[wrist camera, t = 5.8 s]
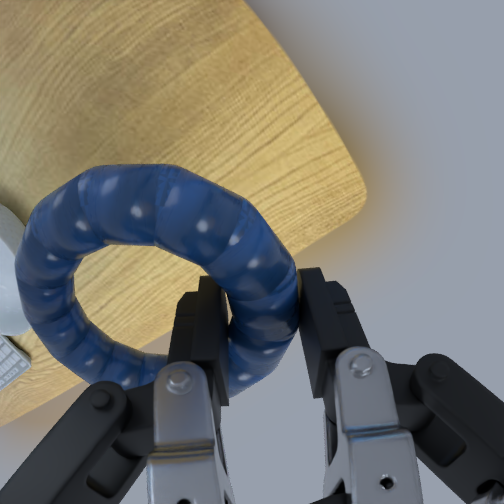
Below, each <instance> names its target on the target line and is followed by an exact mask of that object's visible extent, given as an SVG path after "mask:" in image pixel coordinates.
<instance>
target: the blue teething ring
mask: <svg viewBox="0 0 504 504" xmlns="http://www.w3.org/2000/svg"><path fill="white" fill-rule="evenodd" d="M108 245H137V246H156V247H158V248H160V249H163V250H165V251H167V252H169V253H172V254H174V255H176V256H178V257H181V258H183V259H185V260H188V261H190V262H192V263H195V264H197V265H199V266H201V267H202V268H203V270H204V271H205V272H206V273H207V274H208V275H209V276H210V277H211V278H212V279H213V280H214V281H215V282H216V283H217V284H218V285H219V286H220V287H221V288H222V289H223V290H224V291H225V292H226V294H227V297H228V301H229V304H230V309H231V312H232V315H233V316H232V318H231V321H230V324H229V327H228V336H229V398H231V397H233V396H235V395H237V394H239V393H240V392H242V391H244V390H245V389H247V388H249V387H250V386H252V385H253V384H255V383H257V382H258V381H260V380H261V379H263V378H264V377H266V376H267V375H269V374H270V373H271V372H273V370H274V369H275V368H276V367H277V366H278V364H279V362H280V360H281V359H282V357H283V355H284V353H285V352H286V350H287V348H288V346H289V345H290V343H291V341H292V339H293V337H294V335H295V334H296V332H297V329H298V327H299V323H300V306H299V294H298V283H297V272H296V266H295V262H294V260H293V258H292V256H291V254H290V253H289V252H288V250H287V249H286V248H285V246H284V245H283V244H282V242H281V241H280V240H279V238H278V237H277V236H276V234H275V233H274V232H273V230H272V229H271V228H270V226H269V225H268V224H267V222H266V221H265V220H264V218H263V217H262V216H261V214H260V213H259V212H258V210H257V209H256V208H255V207H254V206H253V205H252V204H251V202H249V201H248V200H247V199H245V198H244V197H242V196H240V195H238V194H236V193H234V192H232V191H230V190H228V189H226V188H224V187H222V186H220V185H218V184H216V183H214V182H211V181H209V180H207V179H205V178H203V177H201V176H199V175H197V174H195V173H193V172H191V171H189V170H186V169H184V168H182V167H180V166H176V165H172V164H118V165H100V166H95V167H92V168H90V169H88V170H86V171H84V172H83V173H81V174H79V175H78V176H76V177H75V178H73V179H71V180H70V181H68V182H67V183H65V184H64V185H62V186H61V187H59V188H58V189H56V190H55V191H53V192H52V193H50V194H49V195H47V196H46V197H45V198H43V199H42V200H41V201H40V202H39V203H38V204H37V205H36V206H35V208H34V209H33V211H32V213H31V215H30V218H29V220H28V223H27V225H26V228H25V230H24V233H23V236H22V238H21V241H20V244H19V247H18V249H17V252H16V256H15V262H14V266H15V275H16V280H17V286H18V291H19V296H20V301H21V305H22V310H23V313H24V315H25V317H26V319H27V321H28V322H29V324H30V325H31V327H32V328H33V330H34V331H35V333H36V334H37V336H38V337H39V338H40V340H41V341H42V343H43V344H44V345H45V347H46V348H47V349H48V351H49V352H50V354H51V355H52V356H53V357H54V358H55V359H57V360H58V361H59V362H60V363H62V364H63V365H64V366H66V367H67V368H68V369H70V370H71V371H72V372H74V373H75V374H77V375H78V376H79V377H81V378H82V379H83V380H85V381H86V382H88V383H89V384H91V385H92V384H94V383H96V382H99V381H112V382H115V383H117V384H119V385H120V386H121V387H122V388H123V389H124V390H127V389H131V388H135V387H139V386H142V385H146V384H148V383H150V382H152V381H154V380H155V377H156V375H157V374H158V372H159V371H160V370H161V369H162V368H164V367H165V366H166V365H167V360H168V355H164V354H151V353H144V352H142V351H139V350H137V349H134V348H131V347H129V346H126V345H124V344H121V343H119V342H117V341H114V340H113V339H112V338H110V337H109V336H108V335H107V334H105V333H104V332H103V331H102V330H100V329H99V328H98V327H97V326H96V325H94V324H93V323H92V322H91V321H90V320H89V319H88V317H87V316H86V314H85V312H84V310H83V309H82V307H81V305H80V303H79V302H78V300H77V298H76V296H75V285H74V273H75V271H76V270H77V268H78V266H79V264H80V263H81V261H82V259H83V258H84V257H85V256H87V255H89V254H91V253H94V252H96V251H98V250H100V249H102V248H104V247H106V246H108Z"/></svg>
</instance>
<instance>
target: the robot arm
mask: <svg viewBox="0 0 504 504" xmlns="http://www.w3.org/2000/svg"><path fill="white" fill-rule="evenodd" d="M297 283H298V294H299V306H300V323H299V327H298V328H299V332H300V336H301V341H302V346H303V350H304V355H305V360H306V364H307V369H308V374H309V379H310V384H311V389H312V393H313V398H314V399H315V398H323V401H324V405H325V410H324V415H323V419H324V438H325V439H324V440H325V465H326V466H325V477H324V486H323V499H321V500H318V501H316V502H313V503H310V504H423V497H422V489H421V482H420V476H419V470H418V464H417V458H416V456H417V457H418V458H419V459H420V460H421V461H422V462H423V463H424V464H425V465H426V466H427V467H428V468H429V469H430V470H431V471H432V472H433V473H434V474H435V475H436V476H437V477H438V478H439V479H441V480H442V481H443V482H444V483H445V484H446V485H447V486H448V487H449V488H450V489H451V490H452V491H453V492H454V493H455V494H457V495H458V496H459V497H460V498H461V499H462V500H463V501H464V502H465V503H466V504H504V402H503V401H501V400H500V399H499V398H498V397H497V396H495V395H494V394H493V393H492V392H491V391H489V390H488V389H487V388H486V387H485V386H483V385H482V384H481V383H480V382H479V381H477V380H476V379H475V378H474V377H472V376H471V375H470V374H469V373H468V372H466V371H465V370H464V369H463V368H461V367H460V366H459V365H458V364H457V363H455V362H454V361H453V360H451V359H450V358H449V357H447V356H445V355H442V354H435V353H433V354H427V355H425V356H423V357H422V358H421V359H419V361H418V362H417V364H416V365H407V364H396V363H391V362H388V361H385V360H384V358H383V357H382V356H381V355H380V354H379V353H378V352H377V351H375V350H373V349H371V348H370V346H369V344H368V341H367V339H366V336H365V334H364V331H363V329H362V327H361V324H360V322H359V319H358V317H357V314H356V313H355V309H354V307H353V305H352V303H351V300H350V298H349V296H348V293H347V291H346V289H345V288H343V287H342V286H341V285H340V284H339V283H338V282H337V281H329V282H325V279H324V276H323V274H322V271H321V269H320V268H319V267H316V268H304V269H298V270H297ZM175 315H176V317H175V319H174V327H173V330H172V336H171V342H170V348H169V354H168V360H167V365H166V366H165V367H164V368H162V369H161V370H160V371H159V372H158V374H157V375H156V377H155V380H154V381H152V382H150V383H148V384H146V385H142V386H139V387H135V388H131V389H127V390H124V389H123V388H122V387H121V386H120V385H119V384H117V383H115V382H112V381H99V382H96V383H94V384H92V385H90V386H89V387H88V388H87V389H86V390H85V391H84V392H83V393H82V394H81V395H80V396H79V398H78V399H77V400H76V401H75V402H74V403H73V404H72V405H71V407H70V408H69V409H68V410H67V411H66V413H65V414H64V415H63V416H62V417H61V418H60V419H59V421H58V422H57V423H56V424H55V425H54V426H53V428H52V429H51V430H50V431H49V432H48V433H47V435H46V436H45V437H44V438H43V439H42V441H41V442H40V443H39V444H38V445H37V446H36V448H35V449H34V450H33V451H32V452H31V454H30V455H29V456H28V457H27V459H26V460H25V461H24V462H23V463H22V465H21V466H20V467H19V468H18V469H17V471H16V472H15V473H14V474H13V475H12V477H11V478H10V479H9V480H8V482H7V483H6V484H5V486H4V487H3V488H2V489H1V490H0V504H119V503H120V502H121V500H122V499H123V498H124V496H125V495H126V493H127V492H128V491H129V489H130V488H131V486H132V485H133V484H134V482H135V481H136V479H137V478H138V477H139V475H140V474H141V472H142V471H143V469H144V468H145V467H146V465H147V490H148V504H235V499H234V495H233V490H232V486H231V483H230V479H229V473H228V467H227V462H226V456H225V450H224V444H223V438H222V432H221V425H220V423H221V406H229V336H228V327H229V324H228V311H227V303H226V296H225V291H224V290H223V289H222V288H221V287H220V286H219V285H218V284H217V283H216V282H215V281H214V280H213V279H212V278H211V277H210V276H209V275H208V276H200V280H199V288H198V291H196V292H185V294H184V295H183V296H182V298H181V299H180V300H179V302H178V303H177V309H176V314H175ZM383 486H384V487H385V489H382V487H383Z"/></svg>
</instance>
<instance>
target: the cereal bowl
mask: <svg viewBox="0 0 504 504" xmlns="http://www.w3.org/2000/svg"><path fill="white" fill-rule="evenodd" d="M25 228H26V227H25V226H24V224H23V223H22V222H21V221H20V220H19V218H18V217H17V216H16V215H14V214H13V212H11V210H9V209H8V208H6V207H5V206H3V205H2V204H1V203H0V334H2V335H7V336H16V335H21V334H23V333H25V332H27V331H28V330H29V329H30V328H31V325H30V324H29V322H28V321H27V319H26V317H25V315H24V313H23V310H22V305H21V301H20V296H19V291H18V286H17V280H16V275H15V266H14V262H15V256H16V252H17V249H18V247H19V244H20V241H21V238H22V236H23V233H24V230H25Z"/></svg>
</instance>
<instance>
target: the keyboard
mask: <svg viewBox="0 0 504 504" xmlns="http://www.w3.org/2000/svg"><path fill="white" fill-rule="evenodd" d="M31 366H32V365H31V358H30V357H29V356H27V355H26V354H25V353H24V352H23V351H22V350H20V349H18V348H17V347H16V346H15V345H14V344H13V343H12V342H11V341H10V340H9V339H8V338H7V337H6V336H5V335H2V334H0V391H1V390H2V389H3V388H5V387H6V386H7V385H8V384H10V383H11V382H12V381H14V380H15V379H16V378H17V377H19V376H20V375H21V374H23V373H24V372H25V371H26V370H28V369H29V368H30V367H31Z"/></svg>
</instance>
